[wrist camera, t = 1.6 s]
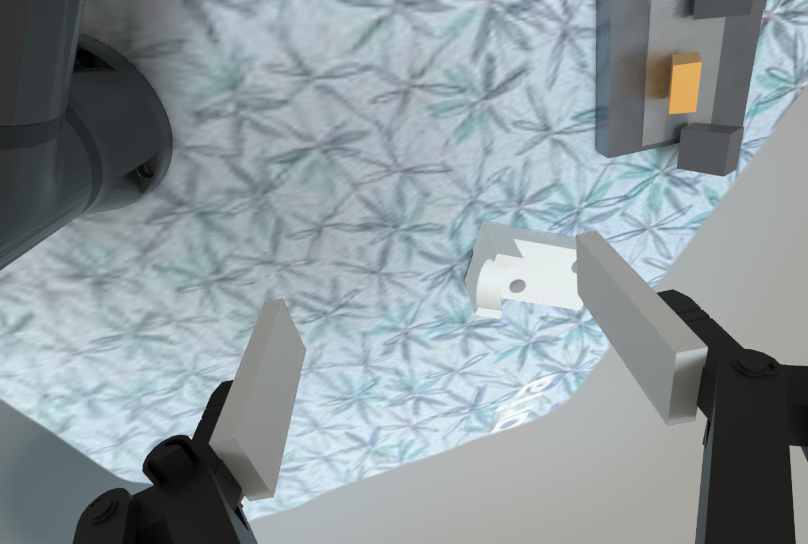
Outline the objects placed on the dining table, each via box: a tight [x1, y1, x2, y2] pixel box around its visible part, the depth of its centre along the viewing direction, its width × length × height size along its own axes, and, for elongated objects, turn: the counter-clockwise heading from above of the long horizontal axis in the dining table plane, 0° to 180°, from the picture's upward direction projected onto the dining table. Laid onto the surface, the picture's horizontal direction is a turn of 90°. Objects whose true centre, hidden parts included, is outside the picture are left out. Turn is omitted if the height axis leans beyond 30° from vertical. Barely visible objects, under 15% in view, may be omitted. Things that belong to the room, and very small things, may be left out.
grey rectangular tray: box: [596, 0, 763, 158], centre depth 37 cm, size 12×20×3 cm, turn 12°
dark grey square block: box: [677, 122, 744, 176], centre depth 38 cm, size 2×4×4 cm, turn 12°
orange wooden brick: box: [668, 52, 702, 114], centre depth 35 cm, size 2×4×4 cm, turn 12°
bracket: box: [465, 221, 584, 319], centre depth 47 cm, size 13×7×8 cm, turn 78°
